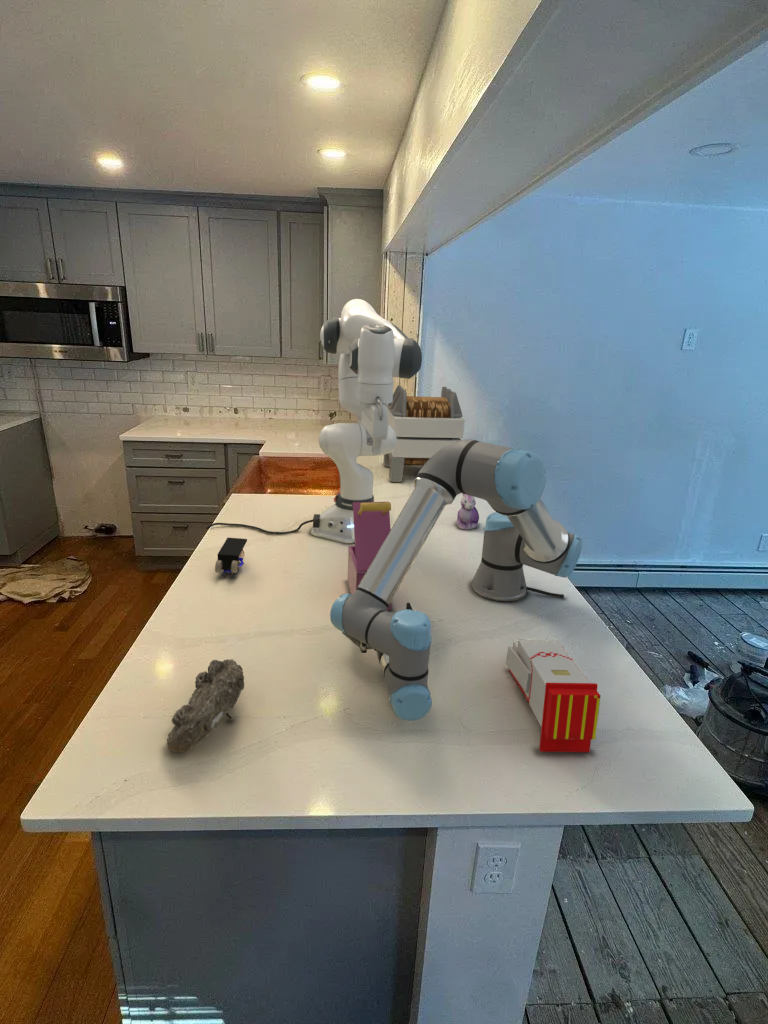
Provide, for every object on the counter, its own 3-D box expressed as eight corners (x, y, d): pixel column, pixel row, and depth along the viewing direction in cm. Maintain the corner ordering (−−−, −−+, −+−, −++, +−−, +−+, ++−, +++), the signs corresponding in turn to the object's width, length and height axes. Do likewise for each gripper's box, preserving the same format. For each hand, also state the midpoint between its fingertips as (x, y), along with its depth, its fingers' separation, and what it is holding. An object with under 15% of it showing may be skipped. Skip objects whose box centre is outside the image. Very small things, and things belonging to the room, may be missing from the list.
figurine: (464, 532, 204) (468, 492, 199) (449, 522, 212) (452, 484, 207) (486, 528, 208) (490, 489, 203) (469, 519, 216) (473, 481, 211)
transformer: (382, 463, 289) (386, 382, 275) (445, 464, 293) (451, 384, 279) (390, 482, 257) (394, 392, 243) (460, 483, 261) (468, 394, 247)
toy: (554, 622, 128) (610, 691, 98) (548, 677, 130) (601, 759, 101) (501, 621, 127) (541, 690, 98) (496, 676, 130) (534, 758, 101)
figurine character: (238, 584, 162) (249, 557, 175) (236, 562, 158) (247, 536, 172) (215, 584, 161) (227, 556, 175) (212, 561, 158) (225, 535, 171)
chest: (347, 581, 164) (348, 545, 160) (379, 580, 165) (381, 544, 162) (355, 612, 147) (356, 573, 144) (391, 610, 149) (393, 571, 145)
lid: (352, 503, 149) (356, 493, 140) (388, 502, 150) (394, 493, 142) (356, 571, 144) (360, 565, 136) (392, 570, 146) (399, 564, 137)
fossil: (192, 660, 117) (244, 628, 112) (224, 691, 120) (276, 661, 115) (142, 746, 98) (202, 712, 93) (182, 779, 101) (242, 748, 96)
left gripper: (395, 401, 130) (392, 459, 135) (380, 388, 149) (378, 440, 154) (368, 400, 129) (366, 460, 133) (356, 388, 148) (355, 440, 152)
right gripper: (337, 679, 117) (328, 625, 137) (453, 670, 121) (429, 619, 141) (337, 647, 114) (329, 597, 134) (456, 640, 119) (431, 592, 138)
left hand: (372, 449), depth 144 cm, fingers open, 8 cm apart
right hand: (380, 608), depth 138 cm, fingers open, 13 cm apart
